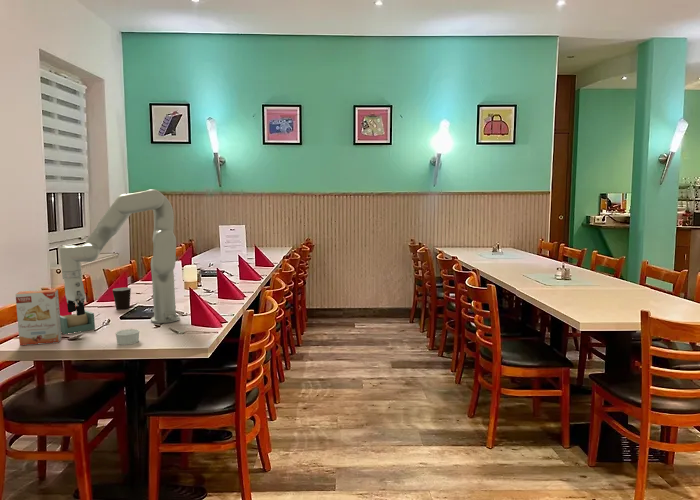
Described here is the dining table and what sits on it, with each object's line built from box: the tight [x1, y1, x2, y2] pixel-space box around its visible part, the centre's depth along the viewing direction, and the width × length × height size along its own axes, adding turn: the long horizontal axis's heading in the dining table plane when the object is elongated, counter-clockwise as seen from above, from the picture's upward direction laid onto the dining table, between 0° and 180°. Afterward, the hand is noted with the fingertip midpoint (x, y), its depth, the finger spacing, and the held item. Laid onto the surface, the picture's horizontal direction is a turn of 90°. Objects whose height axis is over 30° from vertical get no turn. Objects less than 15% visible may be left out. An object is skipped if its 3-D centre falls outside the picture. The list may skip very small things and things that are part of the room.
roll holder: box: [60, 309, 96, 335], centre depth 238 cm, size 10×12×7 cm
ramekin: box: [114, 328, 140, 346], centre depth 218 cm, size 9×9×4 cm
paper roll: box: [63, 313, 88, 328], centre depth 238 cm, size 8×6×6 cm
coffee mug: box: [112, 287, 132, 311], centre depth 281 cm, size 12×9×10 cm
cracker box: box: [15, 289, 62, 346], centre depth 219 cm, size 14×6×21 cm, turn 106°
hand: (76, 313), depth 238 cm, fingers open, 9 cm apart
